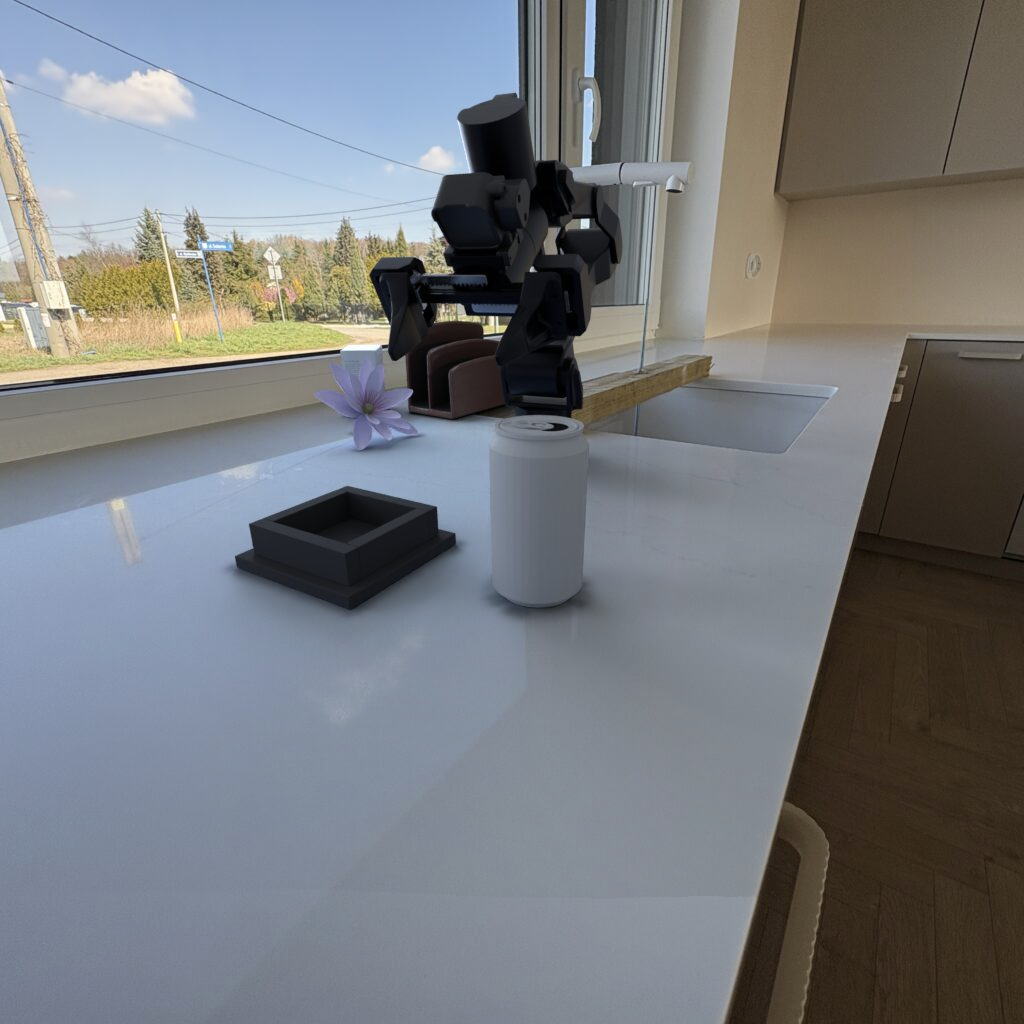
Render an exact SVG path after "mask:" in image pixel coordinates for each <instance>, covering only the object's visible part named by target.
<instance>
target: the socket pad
mask: <svg viewBox="0 0 1024 1024" xmlns="http://www.w3.org/2000/svg"><path fill="white" fill-rule="evenodd" d="M438 515H439V514H438V506H436V505H432V504H427V503H423V502H418V501H415V500H411V499H406V498H403V497H398V496H393V495H389V494H386V493H381V492H377V491H372V490H367V489H363V488H359V487H355V486H352V485H346V486H343V487H341V488H338V489H335V490H332V491H329V492H327V493H324V494H322V495H320V496H317V497H314V498H312V499H309V500H306V501H304V502H301V503H299V504H296V505H293V506H291V507H288V508H286V509H284V510H283V509H282V510H281V511H278V512H275V513H273V514H270V515H267V516H266V517H265V516H264V517H262V518H260V519H257V520H255V521H252V522H249V523H248V527H249V532H250V538H251V543H252V548H251V549H248V550H245V551H243V552H241V553H238V554H235V555H234V559H235V560H234V561H235V565H236V568H238V569H241V570H244V571H246V572H248V573H251V574H254V575H256V576H260V577H262V578H265V579H267V580H269V581H273V582H275V583H278V584H281V585H283V586H285V587H289V588H291V589H294V590H297V591H299V592H302V593H304V594H307V595H310V596H313V597H315V598H318V599H321V600H323V601H326V602H328V603H331V604H334V605H337V606H340V607H342V608H345V609H346V610H347V609H348V610H353V609H354V608H356V607H358V606H359V605H361V604H362V603H364V602H366V601H368V600H369V599H370V598H372V597H373V596H375V595H377V594H378V593H380V592H381V591H383V590H384V589H386V588H388V587H389V586H391V585H392V584H394V583H396V582H397V581H399V580H400V579H402V578H404V577H406V576H407V575H408V574H410V573H412V572H413V571H415V570H416V569H418V568H419V567H421V566H423V565H424V564H426V563H427V562H429V561H431V560H433V559H435V558H436V557H437V556H439V555H440V554H442V553H444V552H445V551H447V550H448V549H451V547H453V546H455V545H456V544H457V535H456V534H457V533H456V532H452V531H448V530H446V529H445V530H444V529H441V528H439V516H438Z"/></svg>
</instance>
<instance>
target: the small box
mask: <svg viewBox="0 0 1024 1024" xmlns="http://www.w3.org/2000/svg"><path fill="white" fill-rule="evenodd" d="M339 354H340V362H341V363H340V364H341V367H342V368H343V369H345V370H346V371H347V372H348V374H349V375H350V373H351V374H354V375H355V376H356V377H357V378H358V379H359V372H360V367H361V364H362V362H363V361H364V359H366V358H368V359H369V360H370V362H371V363H372V365H373V368H374V369H375V368H376V367H377V366H378V365H380V364H382V365H383V367H384V356H383V345H382V344H348V345H347V346H345V347H344V348H342V349H341V350H340V351H339ZM384 368H385V367H384ZM385 378H386V377H384V381H383V385H382V388H381V390H380V393H379V394H378V396H377V398H378V397H379V396H380V395H381V393H382V392H383V394H384V393H386V392H387V390H386V380H385ZM377 398H376V399H377ZM376 399H375V400H376ZM375 400H374V401H375ZM373 403H374V402H373ZM373 403H372V404H373ZM379 411H382V410H379Z"/></svg>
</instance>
